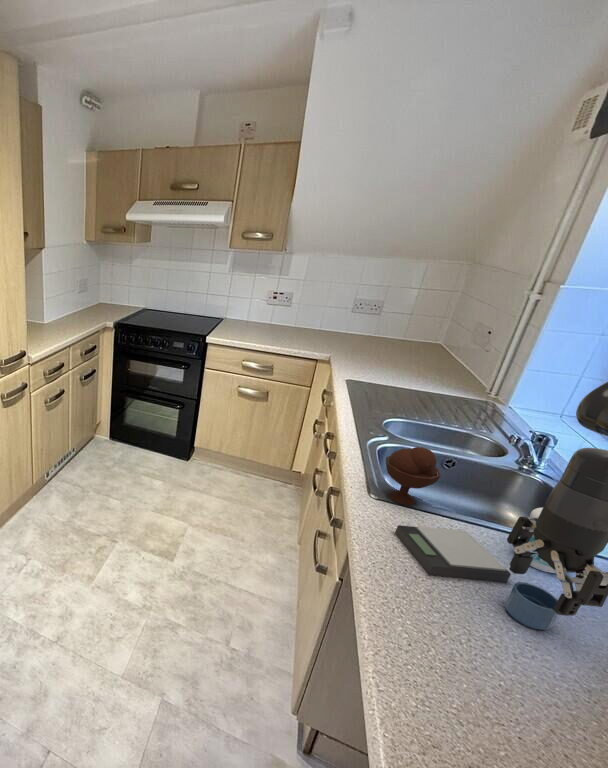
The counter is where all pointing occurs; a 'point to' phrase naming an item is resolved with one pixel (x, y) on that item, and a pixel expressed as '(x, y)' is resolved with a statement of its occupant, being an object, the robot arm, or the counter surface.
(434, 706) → the counter surface
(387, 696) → the counter surface
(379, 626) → the counter surface
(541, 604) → the blue cup
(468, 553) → the kitchen scale
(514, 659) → the counter surface
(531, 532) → the robot arm
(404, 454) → the ice cream bowl
